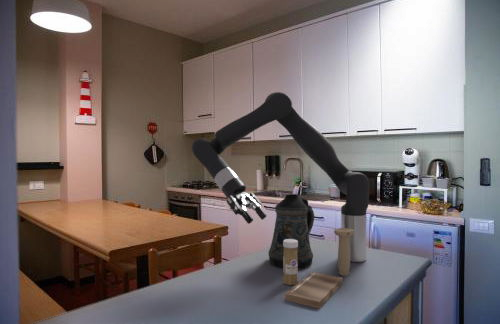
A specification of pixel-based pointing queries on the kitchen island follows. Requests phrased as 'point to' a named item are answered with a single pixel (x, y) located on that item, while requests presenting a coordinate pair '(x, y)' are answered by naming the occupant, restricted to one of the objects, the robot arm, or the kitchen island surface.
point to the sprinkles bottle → (290, 261)
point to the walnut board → (314, 289)
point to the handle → (344, 250)
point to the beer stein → (292, 230)
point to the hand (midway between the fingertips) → (258, 219)
